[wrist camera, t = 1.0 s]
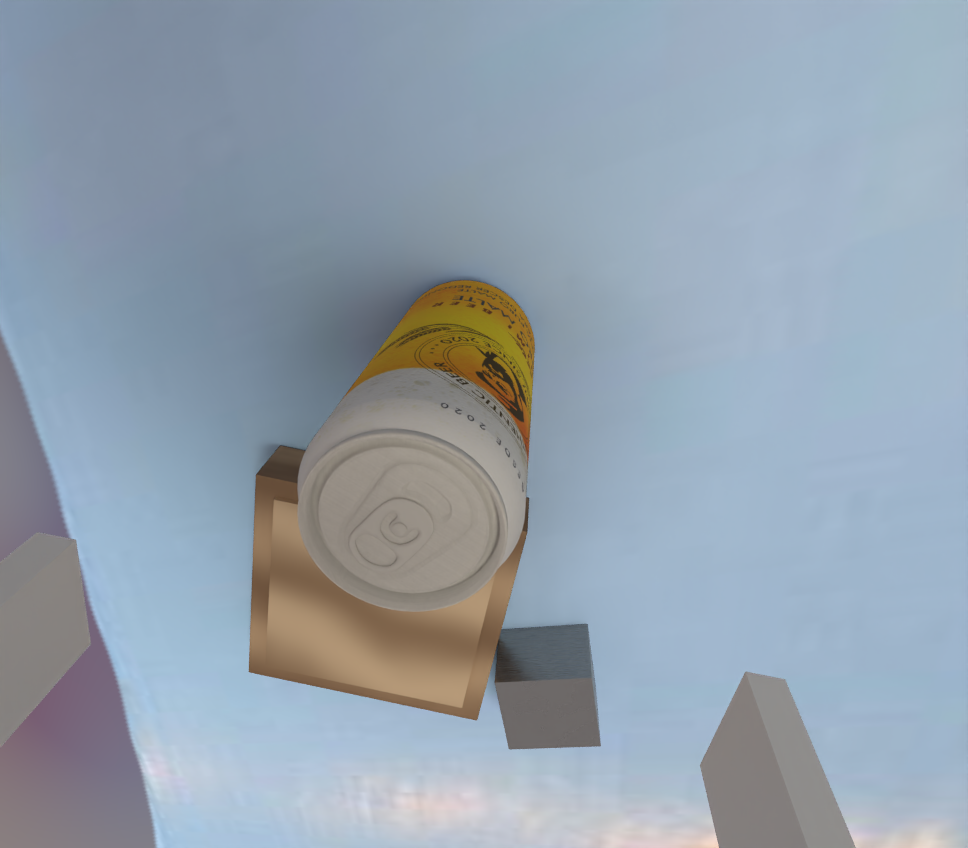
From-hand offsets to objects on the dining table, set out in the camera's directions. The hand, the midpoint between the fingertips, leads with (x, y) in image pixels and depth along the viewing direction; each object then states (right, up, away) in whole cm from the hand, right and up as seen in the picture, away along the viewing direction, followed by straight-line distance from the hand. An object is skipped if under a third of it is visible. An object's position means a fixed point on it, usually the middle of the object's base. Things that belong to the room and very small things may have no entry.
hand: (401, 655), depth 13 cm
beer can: (+1, +8, +17) cm, 19 cm away
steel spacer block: (+5, -9, +25) cm, 27 cm away
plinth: (-4, -4, +23) cm, 23 cm away
